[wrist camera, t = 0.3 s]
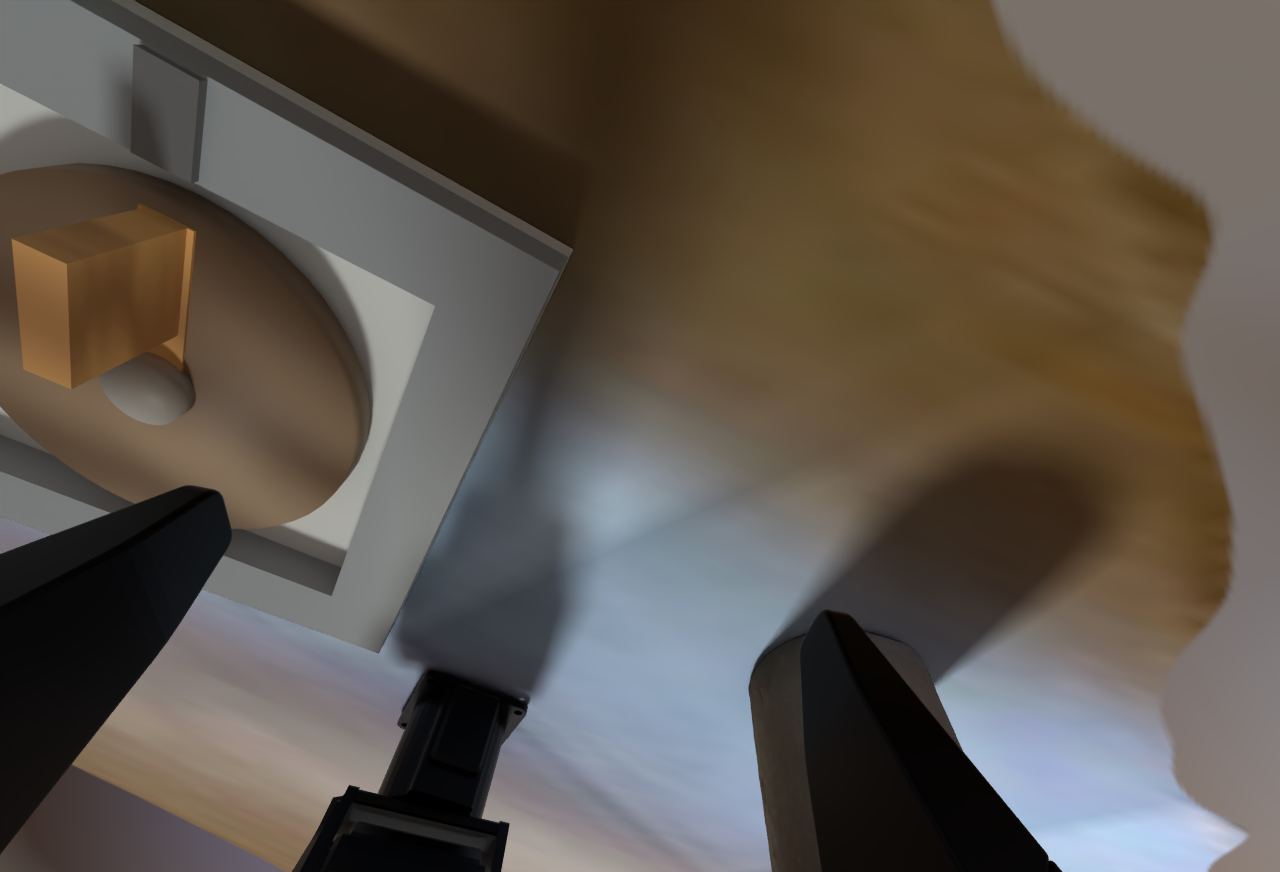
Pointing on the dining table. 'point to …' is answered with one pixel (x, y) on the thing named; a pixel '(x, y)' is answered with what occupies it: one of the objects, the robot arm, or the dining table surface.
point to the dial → (171, 346)
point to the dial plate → (330, 259)
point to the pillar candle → (784, 745)
